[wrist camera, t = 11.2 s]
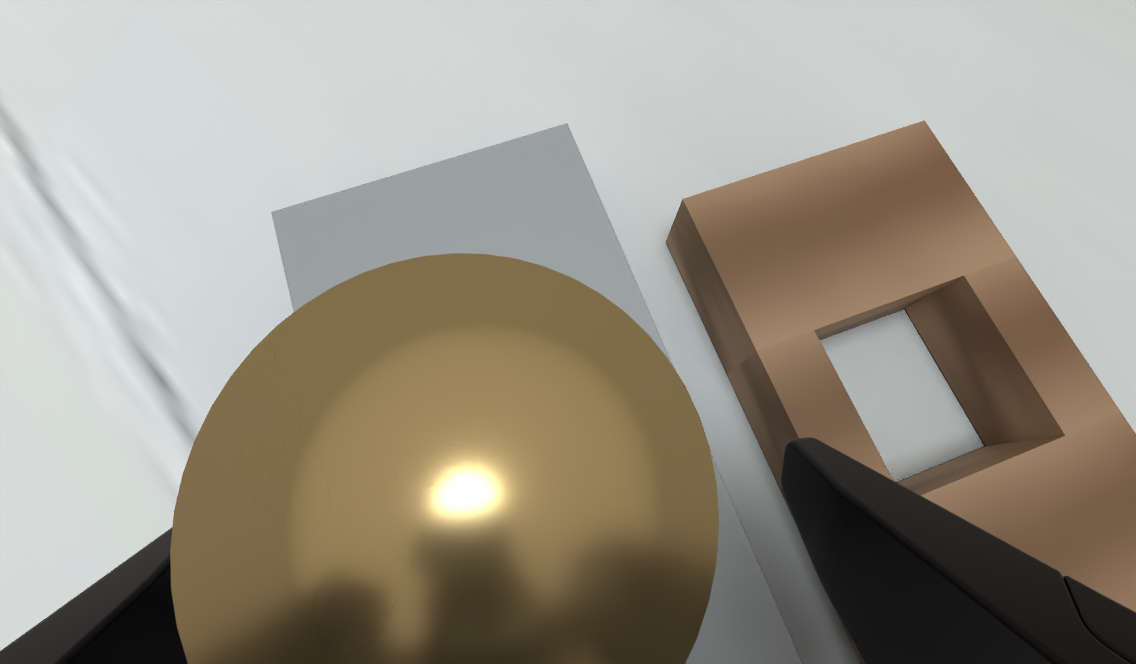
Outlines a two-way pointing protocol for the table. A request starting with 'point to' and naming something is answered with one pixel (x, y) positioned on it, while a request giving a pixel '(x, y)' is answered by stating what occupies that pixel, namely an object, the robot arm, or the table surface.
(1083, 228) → the table surface
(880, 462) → the socket block
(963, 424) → the table surface
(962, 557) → the robot arm
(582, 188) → the board
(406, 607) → the gold capped metal post
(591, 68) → the table surface
